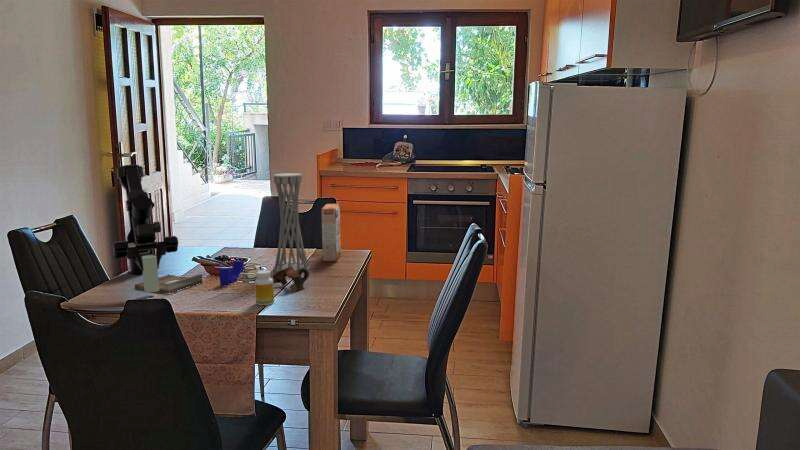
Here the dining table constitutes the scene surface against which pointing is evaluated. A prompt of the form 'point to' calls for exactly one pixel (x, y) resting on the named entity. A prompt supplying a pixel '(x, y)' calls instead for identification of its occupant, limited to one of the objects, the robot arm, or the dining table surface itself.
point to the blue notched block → (231, 273)
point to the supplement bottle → (264, 288)
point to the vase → (289, 223)
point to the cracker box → (331, 232)
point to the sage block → (150, 273)
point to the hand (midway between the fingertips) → (150, 269)
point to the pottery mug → (293, 274)
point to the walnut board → (174, 283)
